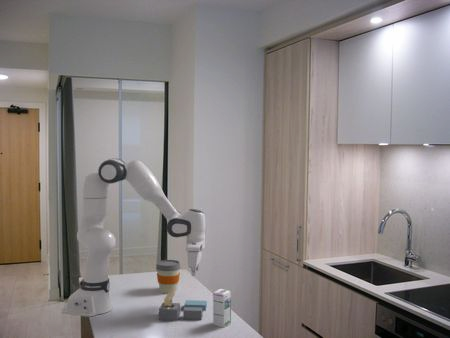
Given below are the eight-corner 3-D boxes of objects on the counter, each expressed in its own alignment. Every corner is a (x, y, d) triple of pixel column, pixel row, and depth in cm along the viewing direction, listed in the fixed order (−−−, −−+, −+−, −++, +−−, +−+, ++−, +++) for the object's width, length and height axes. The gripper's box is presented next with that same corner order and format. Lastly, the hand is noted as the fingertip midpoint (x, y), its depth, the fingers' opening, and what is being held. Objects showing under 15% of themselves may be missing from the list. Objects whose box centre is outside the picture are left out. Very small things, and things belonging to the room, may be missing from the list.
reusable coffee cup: (162, 296, 232) (162, 267, 231) (152, 289, 243) (152, 261, 242) (184, 291, 239) (184, 263, 238) (173, 285, 249) (173, 258, 249)
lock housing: (159, 320, 201) (159, 308, 200) (162, 313, 209) (162, 302, 208) (200, 321, 199) (200, 310, 199) (202, 314, 207) (203, 303, 207)
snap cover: (184, 310, 213) (184, 304, 213) (186, 306, 219) (186, 300, 219) (205, 311, 212) (205, 305, 212) (206, 306, 218) (206, 300, 218)
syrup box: (224, 327, 193) (224, 294, 192) (212, 324, 196) (212, 291, 195) (231, 323, 197) (231, 290, 197) (219, 320, 200) (219, 288, 200)
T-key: (170, 311, 211) (170, 289, 211) (174, 311, 211) (174, 289, 211) (164, 323, 197) (164, 299, 197) (168, 323, 197) (168, 299, 197)
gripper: (192, 239, 224) (191, 267, 225) (185, 248, 204) (184, 278, 205) (205, 239, 224) (204, 267, 224) (199, 248, 203) (198, 279, 204)
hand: (195, 272), depth 214 cm, fingers open, 8 cm apart
